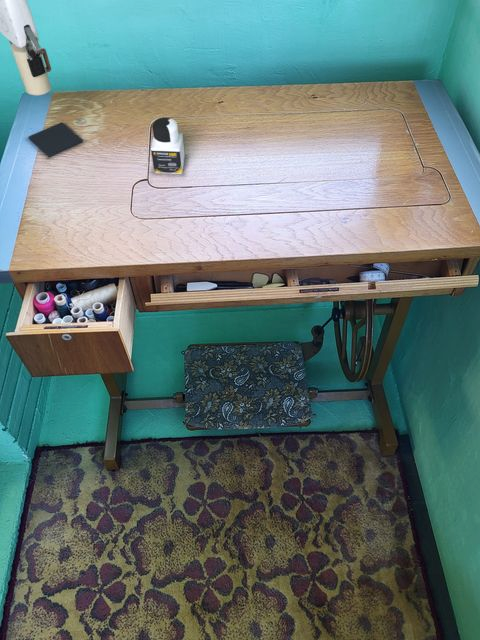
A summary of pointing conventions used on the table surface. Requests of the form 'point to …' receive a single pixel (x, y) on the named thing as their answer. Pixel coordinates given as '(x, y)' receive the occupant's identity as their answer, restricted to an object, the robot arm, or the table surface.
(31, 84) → the cream cylinder canister
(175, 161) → the medicine bottle
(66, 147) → the rubber mat
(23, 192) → the table surface
